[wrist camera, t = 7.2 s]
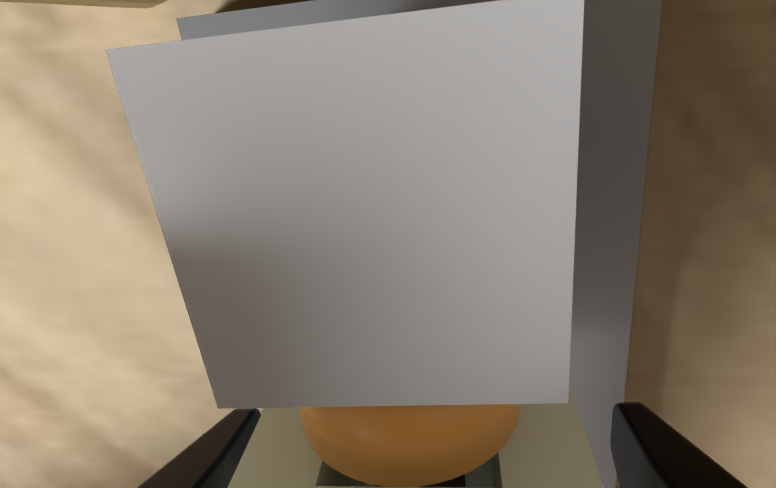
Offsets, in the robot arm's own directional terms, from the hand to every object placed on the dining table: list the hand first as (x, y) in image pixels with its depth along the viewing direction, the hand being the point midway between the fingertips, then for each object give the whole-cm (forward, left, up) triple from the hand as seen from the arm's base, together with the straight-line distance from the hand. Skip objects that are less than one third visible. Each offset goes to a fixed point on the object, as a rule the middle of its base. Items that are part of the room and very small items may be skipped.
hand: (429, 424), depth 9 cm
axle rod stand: (-4, 0, -5) cm, 6 cm away
